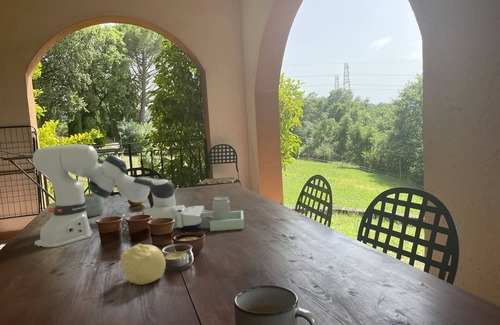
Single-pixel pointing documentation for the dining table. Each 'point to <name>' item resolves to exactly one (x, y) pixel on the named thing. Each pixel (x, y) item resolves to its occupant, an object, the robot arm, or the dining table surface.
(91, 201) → the planter
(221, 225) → the frame
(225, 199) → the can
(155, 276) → the pomelo
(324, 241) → the dining table surface
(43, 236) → the robot arm
